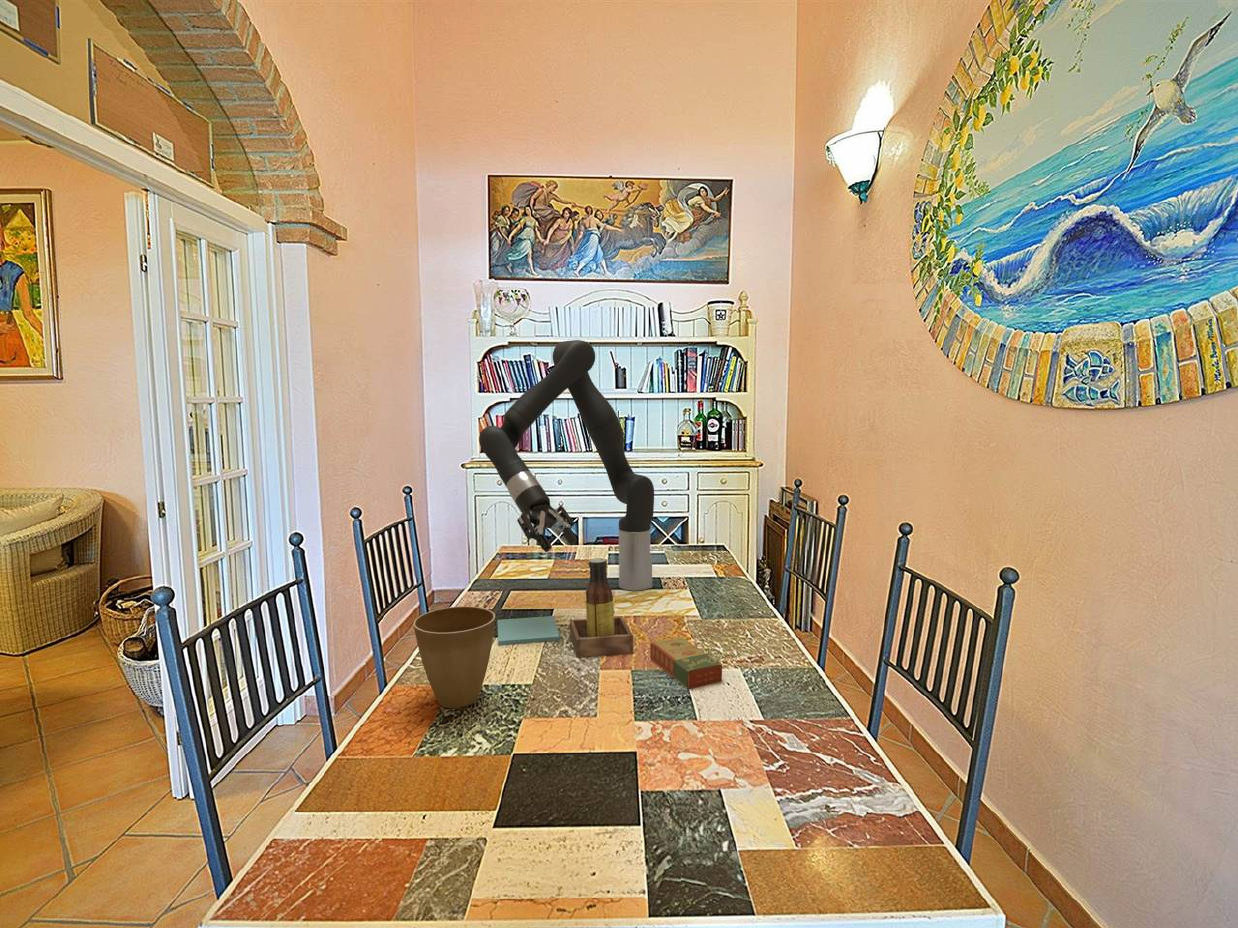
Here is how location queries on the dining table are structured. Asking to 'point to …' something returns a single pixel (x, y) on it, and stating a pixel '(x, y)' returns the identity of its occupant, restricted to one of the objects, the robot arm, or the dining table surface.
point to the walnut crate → (601, 639)
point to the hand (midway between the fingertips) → (562, 546)
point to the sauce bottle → (599, 601)
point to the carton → (685, 662)
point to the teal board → (527, 630)
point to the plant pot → (455, 651)
